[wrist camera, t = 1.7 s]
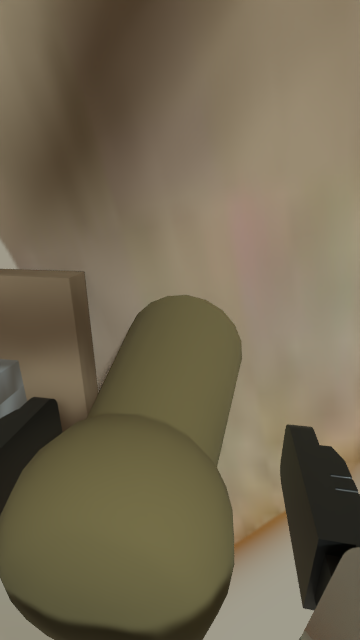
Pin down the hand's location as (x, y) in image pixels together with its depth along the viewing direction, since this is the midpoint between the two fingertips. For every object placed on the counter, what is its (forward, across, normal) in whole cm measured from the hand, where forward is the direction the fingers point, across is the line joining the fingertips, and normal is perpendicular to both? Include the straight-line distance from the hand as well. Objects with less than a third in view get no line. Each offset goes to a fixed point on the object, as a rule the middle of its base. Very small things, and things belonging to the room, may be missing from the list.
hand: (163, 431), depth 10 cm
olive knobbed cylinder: (+6, 0, 0) cm, 6 cm away
